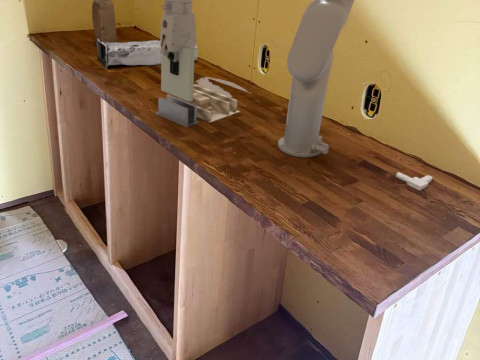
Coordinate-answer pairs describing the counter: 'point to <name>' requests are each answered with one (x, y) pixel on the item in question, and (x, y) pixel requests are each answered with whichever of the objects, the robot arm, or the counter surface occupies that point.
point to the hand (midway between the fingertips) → (177, 73)
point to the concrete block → (131, 53)
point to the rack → (215, 105)
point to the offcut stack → (201, 101)
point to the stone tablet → (210, 86)
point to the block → (104, 21)
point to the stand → (177, 111)
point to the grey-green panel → (183, 81)
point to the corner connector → (415, 181)
